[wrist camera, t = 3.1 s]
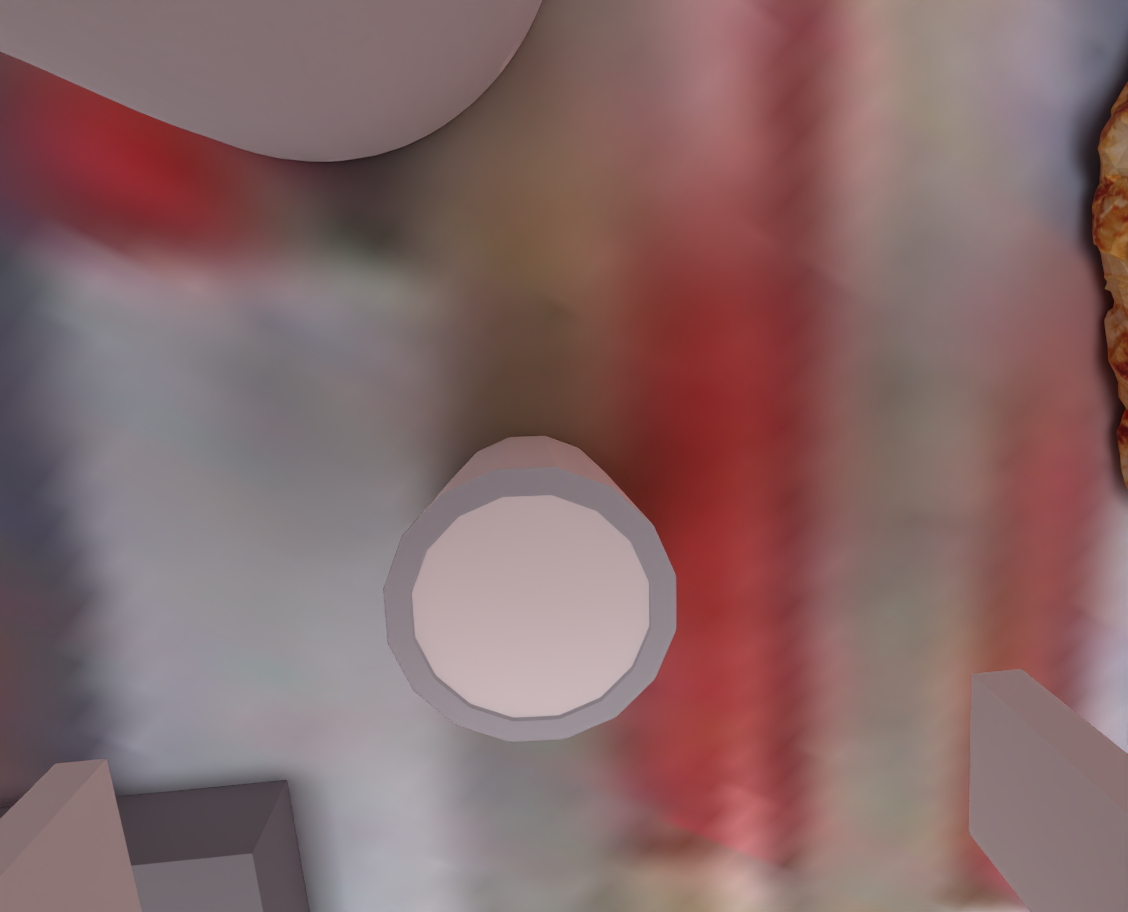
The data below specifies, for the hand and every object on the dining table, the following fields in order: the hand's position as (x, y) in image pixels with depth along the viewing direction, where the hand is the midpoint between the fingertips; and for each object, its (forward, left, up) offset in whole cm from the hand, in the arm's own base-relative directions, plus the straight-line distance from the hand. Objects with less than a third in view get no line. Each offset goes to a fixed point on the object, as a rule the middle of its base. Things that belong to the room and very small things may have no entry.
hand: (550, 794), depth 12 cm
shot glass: (0, 0, -14) cm, 14 cm away
